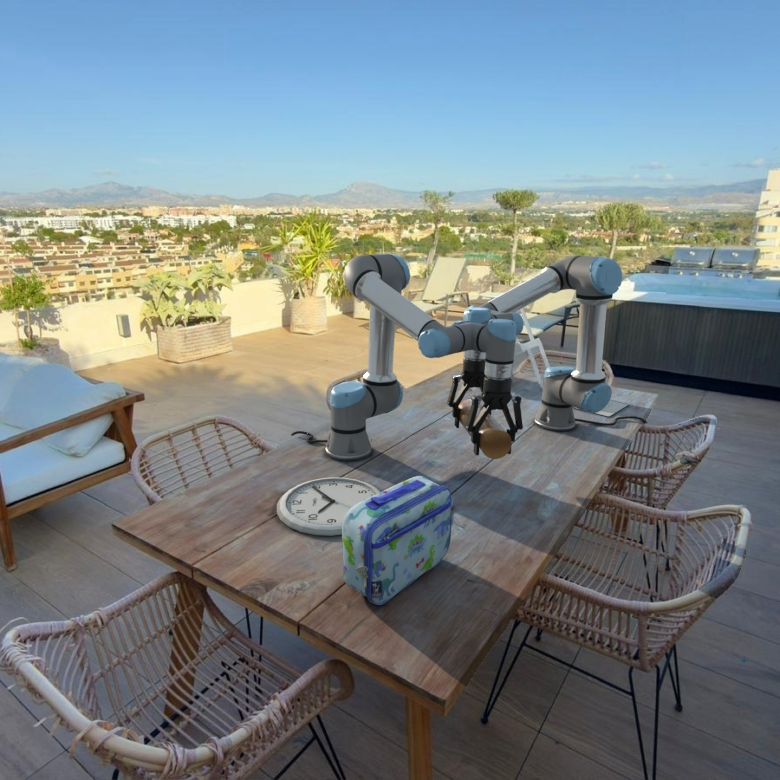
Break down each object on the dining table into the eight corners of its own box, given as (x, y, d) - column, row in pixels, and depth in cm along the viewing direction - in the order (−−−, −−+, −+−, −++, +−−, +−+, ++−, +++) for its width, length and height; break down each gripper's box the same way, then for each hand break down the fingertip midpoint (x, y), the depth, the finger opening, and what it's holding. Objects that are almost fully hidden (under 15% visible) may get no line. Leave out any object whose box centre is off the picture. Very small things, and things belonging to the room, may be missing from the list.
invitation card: (608, 416, 214) (573, 407, 224) (608, 416, 214) (573, 408, 224) (628, 404, 229) (594, 396, 238) (628, 405, 229) (594, 397, 238)
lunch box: (371, 618, 102) (371, 524, 95) (336, 591, 109) (334, 502, 103) (455, 562, 119) (460, 479, 113) (420, 542, 126) (423, 463, 120)
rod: (455, 424, 172) (456, 399, 169) (480, 423, 173) (482, 398, 170) (480, 459, 146) (482, 430, 143) (510, 458, 147) (513, 429, 144)
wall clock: (392, 527, 129) (268, 531, 127) (391, 533, 130) (269, 537, 127) (383, 473, 158) (282, 475, 155) (383, 478, 158) (282, 480, 156)
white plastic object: (489, 418, 267) (470, 395, 242) (471, 346, 289) (451, 318, 264) (561, 394, 254) (547, 368, 230) (535, 321, 277) (521, 289, 252)
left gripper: (463, 381, 137) (458, 459, 144) (541, 379, 140) (532, 456, 147) (456, 373, 145) (452, 448, 151) (530, 372, 148) (522, 445, 154)
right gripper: (444, 361, 157) (441, 431, 164) (513, 360, 160) (506, 429, 167) (438, 355, 164) (435, 423, 171) (504, 354, 167) (498, 420, 174)
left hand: (491, 452), depth 149 cm, fingers closed on rod, 9 cm apart
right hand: (470, 426), depth 169 cm, fingers closed on rod, 9 cm apart
